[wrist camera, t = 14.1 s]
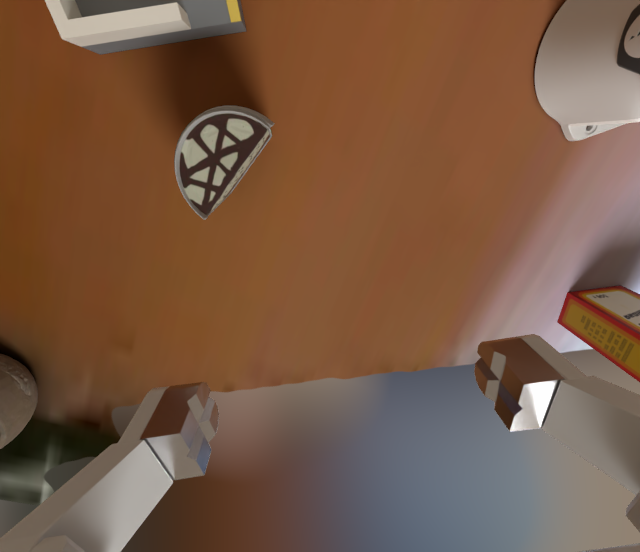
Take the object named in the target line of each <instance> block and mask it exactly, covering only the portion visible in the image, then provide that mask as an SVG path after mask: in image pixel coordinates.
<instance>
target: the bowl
mask: <svg viewBox="0 0 640 552" xmlns="http://www.w3.org/2000/svg"><path fill="white" fill-rule="evenodd" d="M37 399H38V389H37V385H36V382H35V380H34V377H33V376H32V374H31V373H30V372H29V370H28V369H27V368H26V367H25V366H24V365H22V364H21V363H20V362H18V361H17V360H14V359H12V358H11V357H9V356H6V355H3V354H0V449H1V448H3V447H4V446H5V445H7V444H8V443H9V442H10V441H12V440H13V439H14V438H15V437H16V436H17V435H18V434H19V433H20V432H21V431H22V430H23V428H24V427H25V426H26V424H27V423H28V422H29V420H30V419H31V417H32V415H33V413H34V411H35V408H36V404H37Z"/></svg>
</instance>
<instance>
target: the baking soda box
mask: <svg viewBox="0 0 640 552" xmlns="http://www.w3.org/2000/svg"><path fill="white" fill-rule="evenodd" d="M558 323H559V324H561V325H562V326H563V327H565V328H566V329H567V330H569V331H570V332H571V333H573V334H574V335H576V336H577V337H578V338H580V339H581V340H582V341H584V342H585V343H587V344H588V345H589V346H591V347H592V348H593V349H595V350H596V351H598V352H599V353H600V354H602V355H603V356H605V357H606V358H607V359H609V360H610V361H612V362H613V363H614V364H616V365H617V366H618V367H620V368H621V369H622V370H624V371H625V372H626V373H628V374H629V375H631V376H632V377H634V378H635V379H636V380H637V381H639V382H640V294H638V293H636V292H633V291H631V290H629V289H627V288H625V287H623V286H621V285H620V286H612V287H605V288H597V289H590V290H582V291H575V292H568V293H567V296H566V299H565V302H564V305H563V308H562V310H561V313H560V316H559V319H558Z"/></svg>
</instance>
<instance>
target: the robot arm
mask: <svg viewBox="0 0 640 552" xmlns="http://www.w3.org/2000/svg"><path fill="white" fill-rule="evenodd" d="M535 89H536V94H537V97H538V100H539V102H540V104H541V106H542V108H543V109H544V111H545V112H546V113H547V114H548V115H549V116H551V117H552V118H554V119H555V120H556V121H557V122H559V124H560V125H561V128H562V131H563V133H564V135H565V137H566V139H567V140H569V141H578V140H582V139H585V138H588V137H590V136H593V135H596V134H599V133H602V132H604V131H607V130H610V129H613V128H616V127H618V126H621V125H624V124H627V123H633V122H640V0H567V1H566V2H565V3H564V4H563V5H562V7H561V8H560V9H559V11H558V12H557V14H556V15H555V17H554V18H553V20H552V21H551V23H550V25H549V27H548V29H547V31H546V33H545V35H544V37H543V40H542V43H541V45H540V48H539V52H538V56H537V60H536V66H535ZM587 126H588V127H587ZM586 127H587V129H586ZM477 353H478V354H479V355H480V357H481V358H480V359H479V360H478V361H477V362H476V363H475V370H474V373H475V378H476V382H477V384H478V386H479V388H480V390H481V391H482V393H483V394H484V396H486V397H487V398H489V399H491V400H492V401H494V402H495V406H494V410H495V411H496V413H497V414H498V415H499V417H500V418H501V420H502V421H503V423H504V424H505V425H506V427H507V428H508V430H509V431H520V430H529V429H538V428H542V430H543V431H544V432H546V433H547V434H549V435H550V436H552V437H553V438H554V439H556V440H557V441H559V442H560V443H562V444H563V445H565V446H566V447H567V448H569V449H570V450H572V451H573V452H575V453H576V454H578V455H579V456H580V457H582V458H583V459H585V460H586V461H588V462H589V463H590V464H592V465H593V466H595V467H596V468H598V469H599V470H601V471H602V472H603V473H605V474H606V475H608V476H609V477H611V478H612V479H614V480H615V481H616V482H618V483H619V484H621V485H622V486H624V487H625V488H626V489H628V490H629V491H631V492H632V493H634V494H635V495H636V497H635V498H634V499H633V500H632V502H631V503H630V504H629V505H628V507H627V508H626V516H627V517H628V519H629V520H630V521H631V522H632V523H633V525H634V526H635V527H636V528H637V529H638V531H639V532H640V395H638V394H636V393H634V392H631V391H629V390H626V389H624V388H622V387H619V386H617V385H614V384H612V383H609V382H607V381H604V380H602V379H600V378H597V377H595V376H589V377H587V376H586V375H585V374H584V373H583V372H581V371H580V370H579V369H578V368H577V367H575V366H574V365H573V364H572V363H571V362H569V361H568V360H567V359H566V358H565V357H564V356H562V355H561V354H560V353H559V352H558V351H556V350H555V349H554V348H553V347H552V346H551V345H549V344H548V343H547V342H546V341H545V340H543V339H542V338H541V337H540V336H537V335H535V334H531V335H525V336H518V337H512V338H505V339H499V340H492V341H486V342H481V343H480V345H479V346H478V351H477ZM210 391H211V390H210V388H209V386H208V385H207V383H205V382H200V383H192V384H183V385H175V386H169V387H160V388H153V389H152V390H150V391H149V392H148V393H147V395H146V396H145V398H144V400H143V401H142V403H141V405H140V407H139V408H138V410H137V412H136V413H135V415H134V417H133V419H132V420H131V422H130V423H129V425H128V427H127V428H126V430H125V432H124V434H123V435H122V437H121V439H120V440H119V442H118V443H117V444H112V445H111V446H109V447H108V448H107V449H106V450H105V451H103V452H102V453H101V454H100V455H99V456H97V457H96V458H95V459H94V460H93V461H92V462H91V463H89V464H88V465H87V466H86V467H85V468H83V469H82V470H81V471H80V472H79V473H77V474H76V475H75V476H74V477H73V478H71V479H70V480H69V481H68V482H67V483H66V484H64V485H63V486H62V487H61V488H60V489H58V490H57V491H56V492H55V493H54V494H52V495H51V496H50V497H49V498H48V499H46V500H45V501H44V502H43V503H42V504H41V505H39V506H38V507H37V508H36V509H35V510H34V511H32V512H31V513H30V514H29V515H27V516H26V517H25V518H24V519H23V520H22V521H21V522H19V523H18V524H17V525H16V526H14V527H13V528H12V529H11V530H10V531H9V532H7V533H6V534H5V535H4V536H3V537H2V538H0V552H120V551H121V550H122V549H123V547H124V546H125V545H126V544H127V542H128V541H129V539H130V538H131V537H132V536H133V534H134V533H135V532H136V530H137V529H138V528H139V527H140V525H141V524H142V523H143V521H144V520H145V519H146V517H147V516H148V515H149V513H150V512H151V511H152V510H153V508H154V507H155V506H156V504H157V503H158V502H159V500H160V499H161V498H162V496H163V495H164V494H165V493H166V491H167V490H168V489H169V487H170V486H171V485H172V483H173V481H172V480H177V479H184V478H190V477H195V476H201V475H204V474H205V470H206V467H207V464H208V460H209V457H210V453H211V448H210V446H209V443H208V442H209V441H210V440H211V439H212V438H213V437H214V436H215V435H216V432H217V428H218V420H219V412H218V406H217V404H216V402H215V400H213V399H212V398H210V397H208V396H209V393H210ZM581 552H640V543H638V544H631V545H625V546H617V547H610V548H603V549H595V550H589V551H581Z"/></svg>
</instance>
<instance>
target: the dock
mask: <svg viewBox="0 0 640 552" xmlns="http://www.w3.org/2000/svg"><path fill="white" fill-rule="evenodd" d="M45 2H46V4H47V6H48V9H49V11H50V13H51V15H52V18H53V20H54V22H55V24H56V27H57V29H58V31H59V33H60V36H61V38H62V39H63V40H66V41H68V42H71V43H73V44H76V45H78V46H81V47H83V48H86V49H88V50H91V51H93V52H96V53H98V54H106V53H113V52H119V51H125V50H132V49H138V48H144V47H150V46H157V45H163V44H169V43H175V42H182V41H188V40H194V39H201V38H207V37H213V36H219V35H226V34H232V33H238V32H244V31H246V26H245V21H244V16H243V11H242V6H241V1H240V0H45Z"/></svg>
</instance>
